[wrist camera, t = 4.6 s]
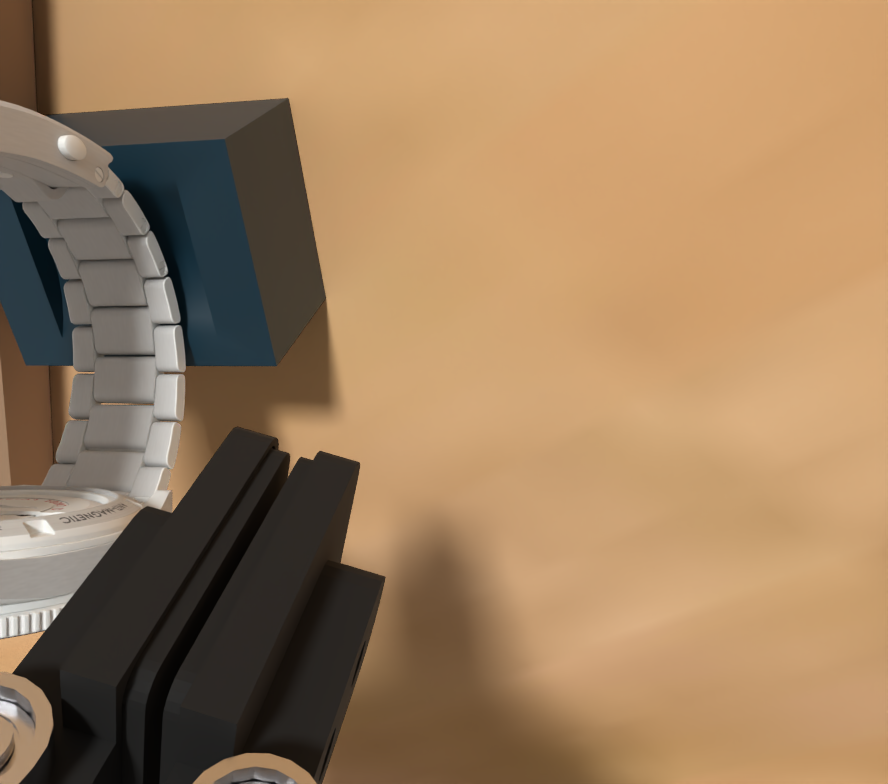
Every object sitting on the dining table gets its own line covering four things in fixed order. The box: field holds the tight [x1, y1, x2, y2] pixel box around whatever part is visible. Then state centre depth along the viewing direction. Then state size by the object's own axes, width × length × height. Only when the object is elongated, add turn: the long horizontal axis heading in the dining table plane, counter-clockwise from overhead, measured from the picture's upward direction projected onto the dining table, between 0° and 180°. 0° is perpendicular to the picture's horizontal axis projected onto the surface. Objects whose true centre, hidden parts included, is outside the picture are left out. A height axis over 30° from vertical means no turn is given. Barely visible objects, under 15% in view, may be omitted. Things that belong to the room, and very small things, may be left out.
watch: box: [0, 98, 326, 639], centre depth 14 cm, size 6×8×11 cm
